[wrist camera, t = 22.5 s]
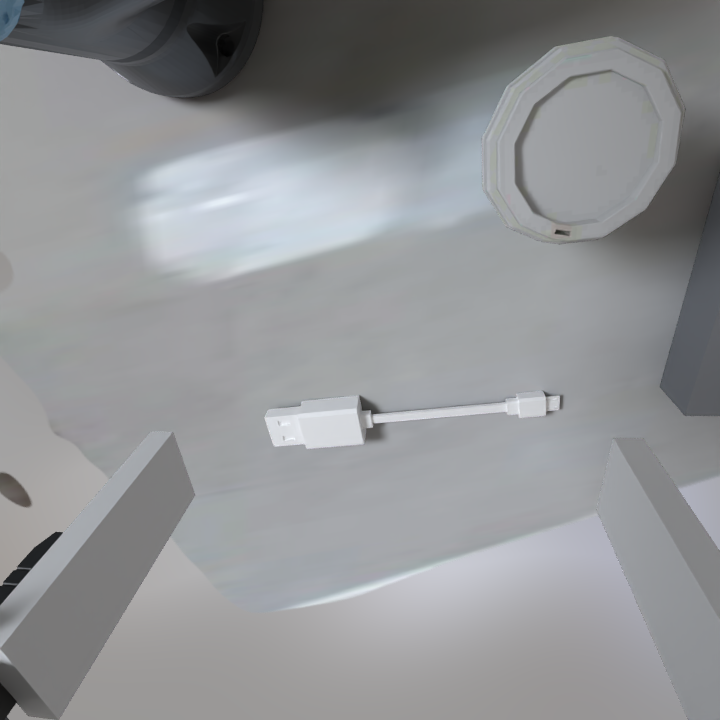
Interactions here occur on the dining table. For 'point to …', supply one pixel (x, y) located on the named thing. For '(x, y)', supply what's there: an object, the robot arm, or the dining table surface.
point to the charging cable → (377, 418)
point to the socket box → (699, 330)
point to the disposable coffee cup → (582, 141)
